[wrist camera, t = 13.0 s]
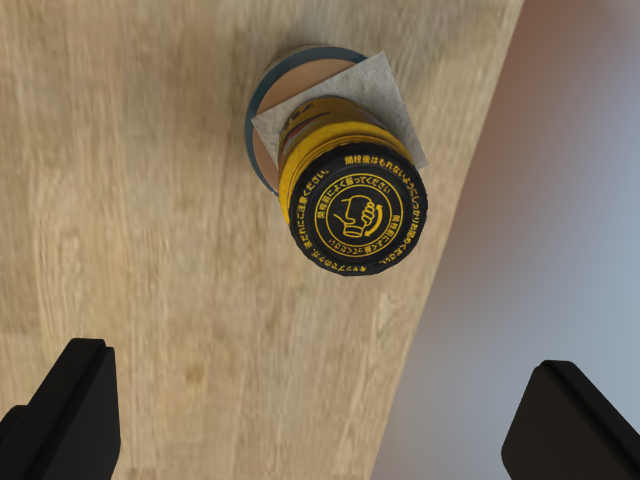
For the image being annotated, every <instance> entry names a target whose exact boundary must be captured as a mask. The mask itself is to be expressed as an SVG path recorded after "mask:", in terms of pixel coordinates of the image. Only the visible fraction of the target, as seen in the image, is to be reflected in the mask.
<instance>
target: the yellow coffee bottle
mask: <svg viewBox="0 0 640 480" xmlns="http://www.w3.org/2000/svg"><path fill="white" fill-rule="evenodd" d="M251 121H252V123H253V125H254V127H255V129H256V130H257V132H258V134H259V136H260V138H261V140H262V141H263V143H264V145H265V147H266V149H267V150H268V152H269V154H270V156H271V158H272V160H273V162H274V163H275V165H276V167H277V169H278V171H279V177H278V190H279V191H278V195H279V202H280V206H281V209H282V212H283V215H284V217H285V220H286V222H287V224H288V225H289V228H290V231H291V235H292V236H293V238H294V240H295V241H296V244H297V246H298V247H299V248H300V249H301V251H302V252H303V254H304V255H305V256H306V257H307V258H308V259H310V260H312V261H313V262H314V263H315V264H316V265H318V266H319V267H321V268H323V269H325V270H328V271H331V272H333V273H337V274H340V275H342V276H364V275H373V274H378V273H380V272H382V271H384V270H386V269H388V268H390V267H392V266H394V265H396V264H398V263H399V262H400V261H402V260H403V259H404V258H405V257H406V256H407V255H409V253H410V252H411V251H412V250H413V248H414V247H415V246H416V244H417V242H418V240H419V238H420V235H421V232H422V229H423V227H424V224H425V222H426V218H427V215H426V213H427V209H428V200H427V194H426V190H425V187H424V184H423V182H422V179H421V177H420V175H419V173H418V171H417V170H418V169H420V168H422V167H425V166H427V165H428V163H427V160H426V158H425V155H424V153H423V151H422V148H421V145H420V143H419V140H418V138H417V135H416V133H415V130H414V128H413V125H412V123H411V120H410V118H409V115H408V112H407V110H406V107H405V105H404V102H403V101H402V97H401V94H400V91H399V89H398V86H397V83H396V81H395V79H394V76H393V74H392V71H391V68H390V65H389V63H388V60H387V57H386V55H385V52H384V50H383V51H381V52H379V53H377V54H376V55H374V56H372V57H370V58H368V59H366V60H364V61H362V62H360V63H358V64H356V65H355V66H353V67H351V68H349V69H347V70H345V71H343V72H341V73H339V74H337V75H335V76H333V77H331V78H329V79H327V80H326V81H324V82H322V83H320V84H318V85H316V86H314V87H312V88H310V89H308V90H306V91H304V92H302V93H300V94H298V95H296V96H294V97H292V98H290V99H289V100H287V101H285V102H283V103H281V104H279V105H277V106H275V107H273V108H271V109H269V110H267V111H265V112H264V113H262V114H260V115H258V116H256V117H254V118H253V119H251Z"/></svg>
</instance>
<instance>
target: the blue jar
mask: <svg viewBox="0 0 640 480" xmlns="http://www.w3.org/2000/svg"><path fill="white" fill-rule="evenodd" d="M366 59H368V58H367V57H366V56H364V55H362V54H360V53H357V52H355V51H352V50H349V49H344V48H340V47H334V46H329V45H321V44H312V45H305V46H300V47H297V48H294V49H291V50H289V51H287V52H285V53H284V54H282V55H281V56H279V57H278V58H276V59H275V60H274V61H273V62H272V63H271V64H270V65H269V66H268V67H267V69H266V70H265V71H264V72H263V74H262V76H261V77H260V79H259V81H258V83H257V85H256V88H255V90H254V92H253V95H252V97H251V100H250V102H249V105H248V109H247V113H246V119H245V144H246V149H247V153H248V157H249V159H250V162H251V164H252V167H253V169H254V170H255V172H256V174H257V176H258V177H259V178H260V180H261V181H262V182H263V184H264V185H265V186H266V187H267V188H268V189H269V190H270V191H271V192H272V193H274V194H275V195H276V196H277V197H279V195H278V191H279V190H278V177H279V171H278V169H277V167H276V165H275V163H274V162H273V160H272V158H271V156H270V154H269V152H268V150H267V149H266V147H265V145H264V143H263V141H262V140H261V138H260V136H259V134H258V132H257V130H256V129H255V127H254V125H253V123H252V121H251V119H253V118H254V117H256V116H258V115H260V114H262V113H264V112H265V111H267V110H269V109H271V108H273V107H275V106H277V105H279V104H281V103H283V102H285V101H287V100H289V99H290V98H292V97H294V96H296V95H298V94H300V93H302V92H304V91H306V90H308V89H310V88H312V87H314V86H316V85H318V84H320V83H322V82H324V81H326V80H327V79H329V78H331V77H333V76H335V75H337V74H339V73H341V72H343V71H345V70H347V69H349V68H351V67H353V66H355V65H356V64H358V63H360V62H362V61H364V60H366ZM402 101H403V100H402Z"/></svg>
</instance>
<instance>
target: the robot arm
mask: <svg viewBox="0 0 640 480" xmlns="http://www.w3.org/2000/svg"><path fill="white" fill-rule="evenodd" d="M120 445H121V439H120V424H119V409H118V394H117V379H116V364H115V351H114V348H113V347H106V344H105V341H104V340H103V339H87V338H73V339H71V340H70V342H69V343H68V344H67V346H66V347H65V349H64V350H63V352H62V353H61V355H60V356H59V358H58V359H57V361H56V363H55V364H54V366H53V367H52V369H51V370H50V372H49V373H48V375H47V376H46V378H45V379H44V381H43V382H42V384H41V385H40V387H39V388H38V390H37V391H36V393H35V394H34V396H33V397H32V399H31V400H30V402H29V403H28V405H16V406H14V407H13V408H11V409H10V410H9V412H8V413H7V414H6V415H5V416H4V418H3V419H2V421H1V422H0V480H111V477H112V474H113V471H114V469H115V466H116V463H117V460H118V457H119V452H120ZM501 456H502V461H503V464H504V466H505V468H506V470H507V472H508V474H509V476H510V477H511V479H512V480H640V435H639V434H638V433H637V432H636V431H635V430H634V429H633V427H632V426H631V425H630V424H629V423H628V422H627V421H626V420H625V419H624V418H623V416H622V415H621V414H620V413H619V412H618V411H617V410H616V409H615V408H614V407H613V405H612V404H611V403H610V402H609V401H608V400H607V399H606V398H605V397H604V396H603V394H602V393H601V392H600V391H599V390H598V389H597V388H596V387H595V386H594V385H593V384H592V383H591V381H590V380H589V379H588V378H587V377H586V376H585V375H584V374H583V373H582V372H581V370H580V369H579V368H578V367H577V366H576V365H575V364H574V363H572V362H570V361H557V360H544V361H543V362H542V363H541V364H540V365H539V366H537V367H536V368H535V369H534V370H533V373H532V375H531V378H530V380H529V382H528V385H527V387H526V390H525V392H524V395H523V397H522V399H521V402H520V404H519V407H518V409H517V412H516V414H515V417H514V419H513V422H512V424H511V427H510V429H509V431H508V434H507V436H506V439H505V441H504V444H503V446H502V450H501Z"/></svg>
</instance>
